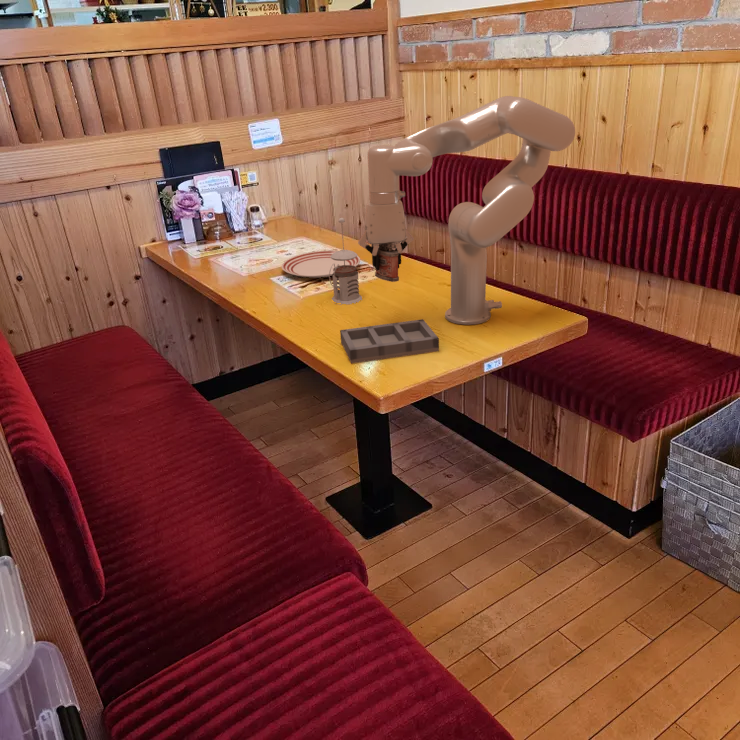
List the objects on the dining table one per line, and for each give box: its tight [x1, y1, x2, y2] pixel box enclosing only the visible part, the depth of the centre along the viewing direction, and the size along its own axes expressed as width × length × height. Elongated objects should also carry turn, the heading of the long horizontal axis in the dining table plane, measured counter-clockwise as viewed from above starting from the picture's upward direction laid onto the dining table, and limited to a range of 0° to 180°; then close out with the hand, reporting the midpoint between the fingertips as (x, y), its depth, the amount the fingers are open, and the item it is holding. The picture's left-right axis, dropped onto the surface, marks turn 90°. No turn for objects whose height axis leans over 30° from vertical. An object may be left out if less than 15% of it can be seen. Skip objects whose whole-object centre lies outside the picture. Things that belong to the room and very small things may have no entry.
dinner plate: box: [281, 250, 361, 279], centre depth 233 cm, size 27×27×3 cm
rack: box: [339, 318, 440, 364], centre depth 171 cm, size 22×14×4 cm, turn 103°
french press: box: [328, 217, 363, 305], centre depth 200 cm, size 10×12×25 cm
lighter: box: [374, 243, 400, 283], centre depth 174 cm, size 8×3×10 cm, turn 40°
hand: (386, 267), depth 175 cm, fingers closed on lighter, 4 cm apart
